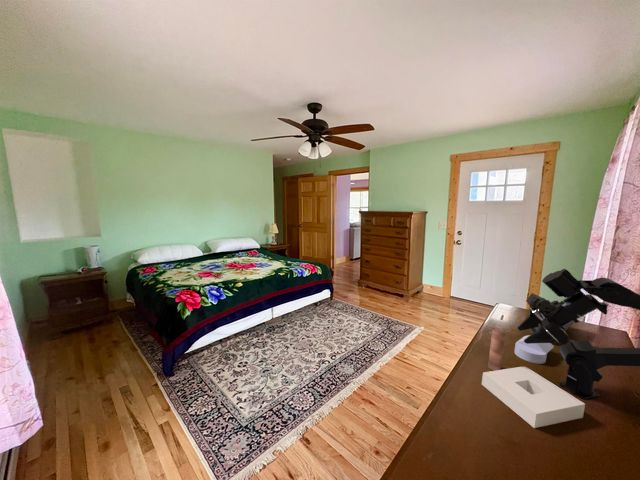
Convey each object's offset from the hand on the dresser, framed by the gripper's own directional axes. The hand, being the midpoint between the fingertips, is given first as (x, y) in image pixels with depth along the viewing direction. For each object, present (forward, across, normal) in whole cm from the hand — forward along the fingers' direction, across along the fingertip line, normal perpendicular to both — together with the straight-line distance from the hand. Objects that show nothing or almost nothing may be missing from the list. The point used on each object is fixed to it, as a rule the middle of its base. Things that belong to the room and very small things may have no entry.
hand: (521, 335), depth 83 cm
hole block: (+9, +12, +10) cm, 18 cm away
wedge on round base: (+5, -17, +15) cm, 23 cm away
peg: (+14, 0, +5) cm, 15 cm away
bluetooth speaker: (-3, -41, +23) cm, 47 cm away
